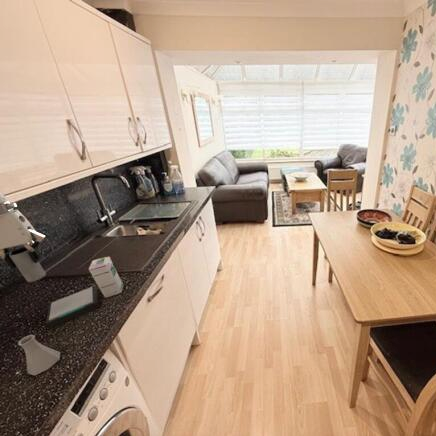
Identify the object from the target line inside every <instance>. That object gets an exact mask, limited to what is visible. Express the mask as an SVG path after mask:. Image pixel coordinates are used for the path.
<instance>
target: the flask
mask: <svg viewBox="0 0 436 436" xmlns="http://www.w3.org/2000/svg"><path fill="white" fill-rule="evenodd" d="M17 345H18V346H21V348H22V349H23V351H24V353H25V358H26V371H27V375H31V376H37V375H40V374H41V373H43V372H45V371H47V370H49V369H51V367H52V366H54V365H55V364H56V363H57V362H58V361H60V359H61V351H58V350H56V349H53V348H50V347H48V346H46V345H44V344H42V343H40V342H38V340H37V339H36V336H35V335H34V334H29V335H26V336H24V337H23V338H21V339H20V340H18V343H17Z"/></svg>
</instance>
